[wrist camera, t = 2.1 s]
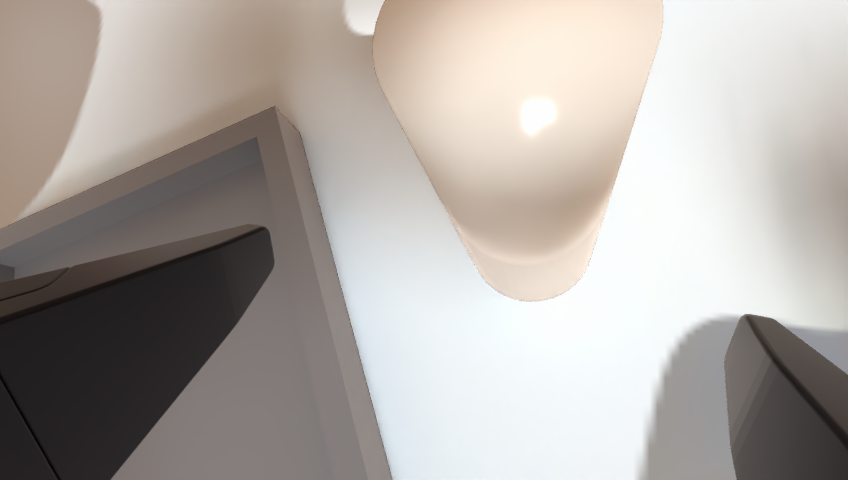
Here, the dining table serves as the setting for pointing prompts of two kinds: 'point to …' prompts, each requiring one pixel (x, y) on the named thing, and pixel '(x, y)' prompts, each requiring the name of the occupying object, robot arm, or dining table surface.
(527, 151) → the canister
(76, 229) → the tray
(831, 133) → the dining table surface
